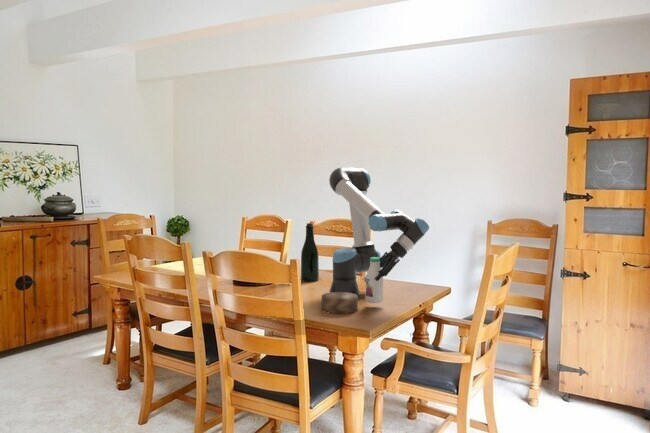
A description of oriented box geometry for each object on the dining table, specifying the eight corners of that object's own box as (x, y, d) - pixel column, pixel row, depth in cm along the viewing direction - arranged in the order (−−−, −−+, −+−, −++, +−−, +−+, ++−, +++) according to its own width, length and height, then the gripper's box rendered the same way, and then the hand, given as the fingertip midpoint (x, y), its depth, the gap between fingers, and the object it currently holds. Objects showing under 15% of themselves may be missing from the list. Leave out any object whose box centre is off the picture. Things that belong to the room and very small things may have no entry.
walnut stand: (319, 313, 215) (319, 299, 214) (324, 304, 231) (324, 291, 230) (356, 314, 213) (356, 300, 213) (358, 305, 229) (358, 292, 228)
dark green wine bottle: (299, 278, 291) (299, 222, 288) (317, 278, 293) (317, 222, 290) (301, 282, 280) (301, 224, 278) (320, 281, 282) (320, 223, 280)
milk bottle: (381, 299, 229) (382, 256, 227) (384, 303, 221) (384, 259, 220) (364, 299, 229) (365, 256, 227) (366, 303, 221) (367, 259, 219)
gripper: (416, 255, 217) (380, 293, 215) (398, 248, 237) (365, 283, 234) (404, 243, 215) (368, 282, 213) (388, 238, 235) (355, 273, 233)
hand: (367, 283), depth 224 cm, fingers closed on milk bottle, 7 cm apart
